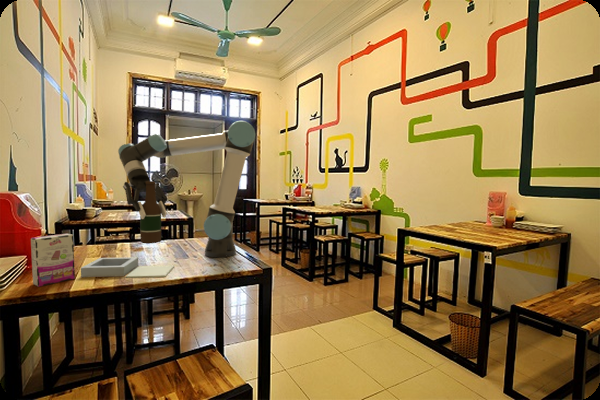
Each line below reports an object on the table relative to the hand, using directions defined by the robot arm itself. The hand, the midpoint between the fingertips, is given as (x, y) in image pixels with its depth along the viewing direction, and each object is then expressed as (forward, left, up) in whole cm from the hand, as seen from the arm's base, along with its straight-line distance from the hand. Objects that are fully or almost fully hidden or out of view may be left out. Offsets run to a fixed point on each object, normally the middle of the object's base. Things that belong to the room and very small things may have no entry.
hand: (154, 216), depth 121 cm
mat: (+2, -3, -23) cm, 23 cm away
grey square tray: (+18, -6, -23) cm, 30 cm away
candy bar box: (+32, +6, -23) cm, 40 cm away
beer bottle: (+2, -3, -11) cm, 11 cm away
